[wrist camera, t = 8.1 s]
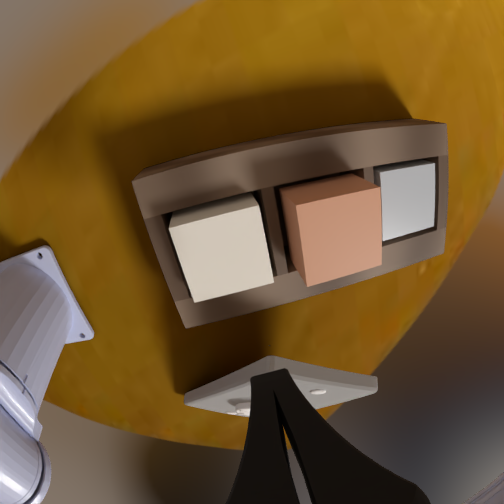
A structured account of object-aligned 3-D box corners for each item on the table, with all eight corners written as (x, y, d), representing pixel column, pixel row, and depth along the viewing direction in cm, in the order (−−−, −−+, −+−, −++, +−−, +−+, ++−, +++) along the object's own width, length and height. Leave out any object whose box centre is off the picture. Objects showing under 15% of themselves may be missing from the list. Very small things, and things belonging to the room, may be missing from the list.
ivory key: (194, 274, 18) (194, 302, 15) (173, 208, 16) (168, 228, 13) (262, 256, 18) (274, 282, 16) (248, 189, 16) (258, 205, 14)
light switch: (181, 413, 24) (267, 391, 14) (190, 354, 27) (273, 289, 17) (263, 427, 27) (380, 404, 16) (267, 374, 30) (373, 324, 20)
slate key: (360, 223, 20) (382, 241, 17) (355, 162, 18) (380, 172, 15) (408, 211, 20) (433, 226, 17) (406, 154, 18) (434, 163, 15)
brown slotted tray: (186, 296, 21) (185, 328, 17) (144, 168, 16) (131, 181, 13) (416, 233, 22) (443, 253, 18) (413, 118, 17) (446, 123, 14)
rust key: (290, 259, 17) (307, 287, 15) (278, 188, 15) (295, 205, 13) (356, 241, 18) (381, 264, 15) (351, 173, 16) (380, 187, 13)
